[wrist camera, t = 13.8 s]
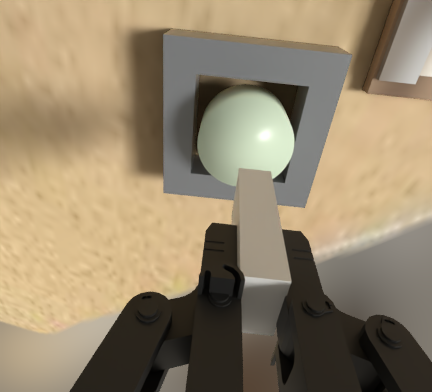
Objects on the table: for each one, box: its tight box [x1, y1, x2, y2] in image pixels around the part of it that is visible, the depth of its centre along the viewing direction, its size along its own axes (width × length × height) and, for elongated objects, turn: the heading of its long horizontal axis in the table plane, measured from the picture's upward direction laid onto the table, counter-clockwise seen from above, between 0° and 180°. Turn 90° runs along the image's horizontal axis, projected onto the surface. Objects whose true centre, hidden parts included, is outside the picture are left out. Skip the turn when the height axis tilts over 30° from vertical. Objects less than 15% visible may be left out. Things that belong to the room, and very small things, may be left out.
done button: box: [197, 84, 294, 186], centre depth 21 cm, size 6×6×3 cm
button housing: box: [163, 29, 352, 208], centre depth 22 cm, size 11×11×3 cm
